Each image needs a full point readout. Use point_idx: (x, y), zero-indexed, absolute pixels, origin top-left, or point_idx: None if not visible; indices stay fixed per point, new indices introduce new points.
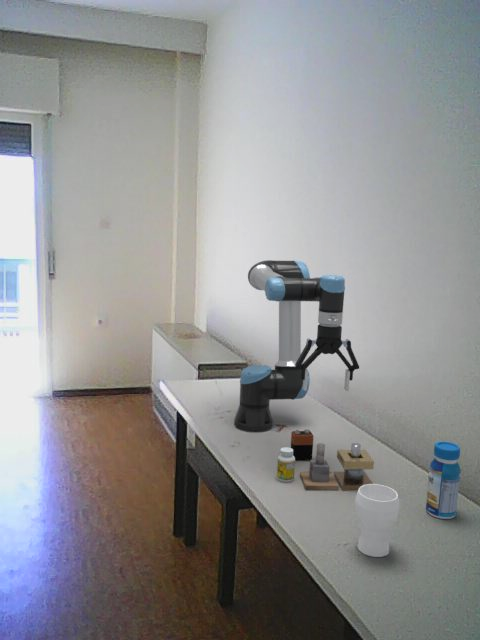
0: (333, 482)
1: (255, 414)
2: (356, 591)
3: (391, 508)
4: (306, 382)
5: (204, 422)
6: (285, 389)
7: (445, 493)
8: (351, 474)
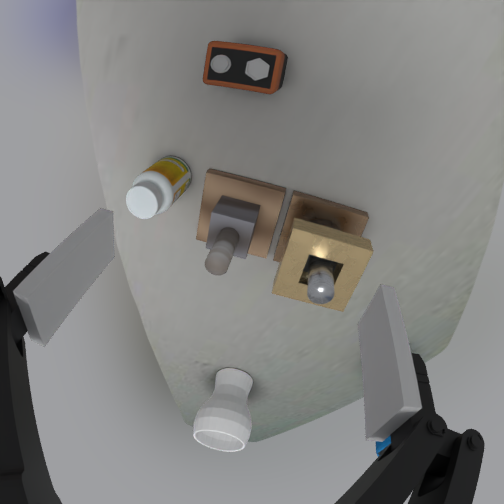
0: (262, 243)
1: None
2: (187, 403)
3: (227, 444)
4: (84, 288)
5: None
6: None
7: None
8: None
